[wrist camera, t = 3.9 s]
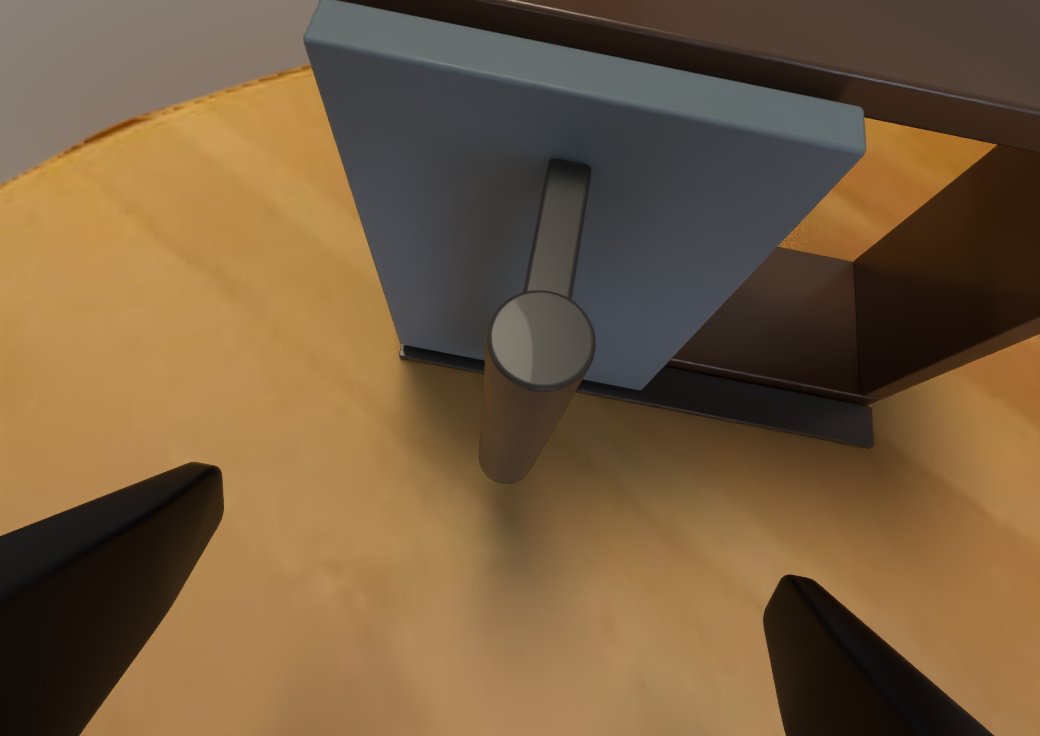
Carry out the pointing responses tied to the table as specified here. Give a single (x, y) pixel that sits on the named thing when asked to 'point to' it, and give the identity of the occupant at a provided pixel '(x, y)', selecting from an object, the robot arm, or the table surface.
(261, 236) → the table surface
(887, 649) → the robot arm
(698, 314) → the closet door
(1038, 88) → the closet
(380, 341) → the table surface
